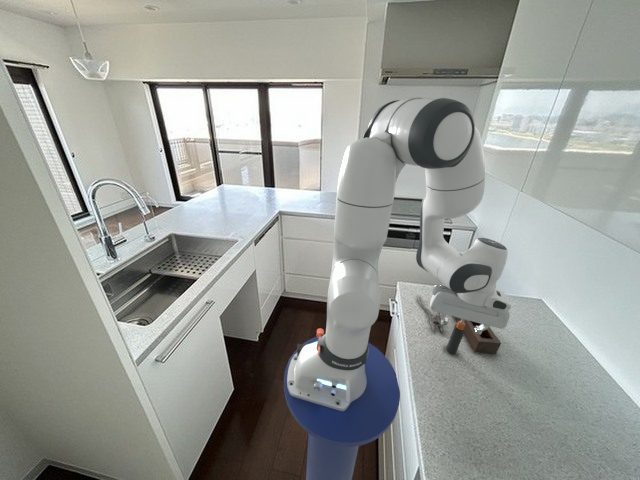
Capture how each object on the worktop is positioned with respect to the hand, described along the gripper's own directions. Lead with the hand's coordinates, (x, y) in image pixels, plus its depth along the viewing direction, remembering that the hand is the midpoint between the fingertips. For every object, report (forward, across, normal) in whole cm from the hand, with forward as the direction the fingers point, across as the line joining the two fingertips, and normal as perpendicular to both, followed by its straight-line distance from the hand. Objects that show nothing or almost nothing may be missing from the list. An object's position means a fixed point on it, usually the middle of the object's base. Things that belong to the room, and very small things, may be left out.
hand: (460, 327), depth 79 cm
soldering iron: (+10, 0, 0) cm, 10 cm away
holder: (+10, +8, +12) cm, 17 cm away
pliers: (+10, -4, +17) cm, 20 cm away
